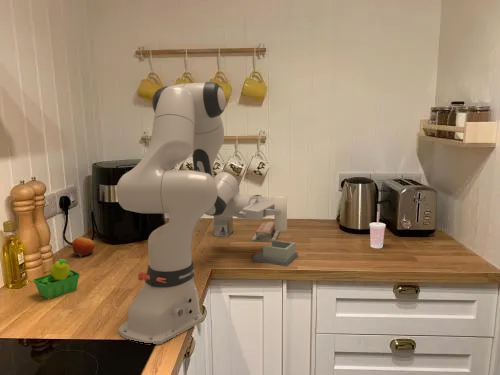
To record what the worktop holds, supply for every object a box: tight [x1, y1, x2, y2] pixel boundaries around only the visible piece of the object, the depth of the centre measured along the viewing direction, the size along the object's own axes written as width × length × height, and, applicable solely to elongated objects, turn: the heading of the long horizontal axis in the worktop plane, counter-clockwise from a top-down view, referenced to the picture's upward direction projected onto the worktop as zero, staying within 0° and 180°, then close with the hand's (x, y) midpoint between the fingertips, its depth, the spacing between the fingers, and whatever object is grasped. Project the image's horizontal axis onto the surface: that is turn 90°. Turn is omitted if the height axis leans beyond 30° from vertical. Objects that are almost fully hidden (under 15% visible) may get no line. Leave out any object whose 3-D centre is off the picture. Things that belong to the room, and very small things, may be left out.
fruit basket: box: [32, 258, 81, 299], centre depth 127 cm, size 11×9×11 cm
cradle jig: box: [252, 239, 299, 267], centre depth 154 cm, size 11×13×6 cm
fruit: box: [71, 236, 95, 259], centre depth 161 cm, size 8×8×8 cm
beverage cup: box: [368, 211, 387, 249], centre depth 165 cm, size 6×6×14 cm
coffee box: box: [213, 215, 234, 238], centre depth 185 cm, size 9×6×16 cm
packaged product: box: [251, 220, 281, 243], centre depth 183 cm, size 18×5×10 cm
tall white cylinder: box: [273, 195, 288, 232], centre depth 151 cm, size 4×4×12 cm
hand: (283, 210), depth 150 cm, fingers closed on tall white cylinder, 4 cm apart
